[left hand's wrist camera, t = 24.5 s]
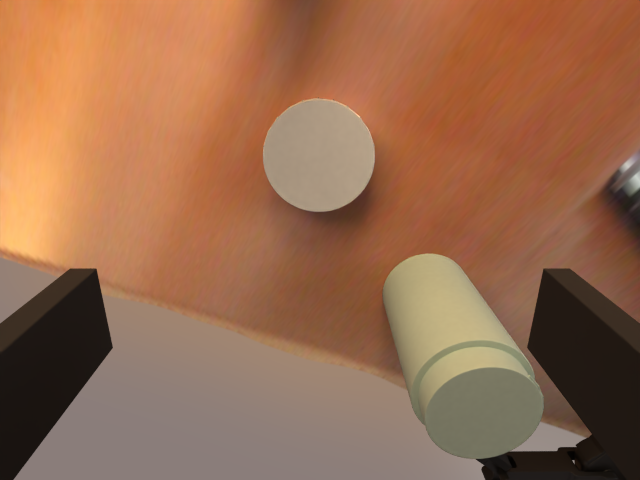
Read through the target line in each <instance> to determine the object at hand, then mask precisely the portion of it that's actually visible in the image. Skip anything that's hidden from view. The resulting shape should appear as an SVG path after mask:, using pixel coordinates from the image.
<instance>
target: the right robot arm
mask: <svg viewBox="0 0 640 480" xmlns="http://www.w3.org/2000/svg"><path fill="white" fill-rule="evenodd" d="M576 446H577V447H560V448H558V451H529V452H528V451H523V452H507V453H504V454H502V455H498V456H495V457H490V458H483V459H476V460H477V461H479V462H480V463H482V464H483V465H485V466H483V467H482V473H483V475H484V478H485V480H627V479H626V478H625V477H624V475H623V474H622V473H621V471H620V470H619V469H618V467H617V466H616V465H615V464H614V462H613V461H612V460H611V458H610V457H609V456H608V454H607V453H606V452H605V450H604V449H603V448H602V446H601V445H600V444H599V442H598V441H597V440H596V438H595V437H594V436H593V434H592V435H591V436H590V437H589V438H586V439H584V440H582V441H581V442H579V443H578V444H576ZM572 460H575V464H574V463H573V461H572Z"/></svg>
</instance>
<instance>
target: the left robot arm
mask: <svg viewBox="0 0 640 480" xmlns="http://www.w3.org/2000/svg"><path fill="white" fill-rule="evenodd" d="M112 348H113V347H112V342H111V337H110V332H109V327H108V323H107V318H106V313H105V308H104V303H103V298H102V293H101V289H100V284H99V279H98V274H97V269H69V270H68V271H67V272H65V273H64V274H63V275H62V276H60V277H59V278H58V279H57V280H55V281H54V282H53V283H51V284H50V285H49V286H48V287H46V288H45V289H44V290H42V291H41V292H40V293H39V294H37V295H36V296H35V297H34V298H32V299H31V300H30V301H29V302H27V303H26V304H25V305H23V306H22V307H21V308H20V309H18V310H17V311H16V312H14V313H13V314H12V315H11V316H9V317H8V318H7V319H6V320H4V321H3V322H2V323H0V480H13V479H14V478H15V477H16V475H17V474H18V473H19V471H20V470H21V469H22V467H23V466H24V465H25V463H26V462H27V461H28V460H29V458H30V457H31V456H32V454H33V453H34V452H35V450H36V449H37V448H38V446H39V445H40V444H41V442H42V441H43V440H44V438H45V437H46V436H47V434H48V433H49V432H50V430H51V429H52V428H53V426H54V425H55V424H56V422H57V421H58V420H59V418H60V417H61V416H62V414H63V413H64V412H65V410H66V409H67V408H68V406H69V405H70V404H71V402H72V401H73V400H74V398H75V397H76V396H77V395H78V393H79V392H80V391H81V389H82V388H83V387H84V385H85V384H86V383H87V381H88V380H89V379H90V377H91V376H92V375H93V373H94V372H95V371H96V369H97V368H98V367H99V365H100V364H101V363H102V361H103V360H104V359H105V357H106V356H107V355H108V353H109V352H110V351H111V349H112ZM527 348H528V349H529V351H530V352H531V353H532V355H533V356H534V357H535V359H536V360H537V361H538V363H539V364H540V365H541V367H542V368H543V369H544V371H545V372H546V373H547V375H548V376H549V377H550V379H551V380H552V381H553V383H554V384H555V385H556V387H557V388H558V389H559V391H560V392H561V393H562V395H563V396H564V397H565V398H566V400H567V401H568V402H569V404H570V405H571V406H572V408H573V409H574V410H575V412H576V413H577V414H578V416H579V417H580V418H581V420H582V421H583V422H584V424H585V425H586V426H587V428H588V429H589V430H590V432H591V433H592V434H593V436H594V437H595V438H596V440H597V441H598V442H599V444H600V445H601V446H602V448H603V449H604V450H605V452H606V453H607V454H608V456H609V457H610V458H611V460H612V461H613V462H614V464H615V465H616V466H617V467H618V469H619V470H620V471H621V473H622V474H623V475H624V477H625V478H626V479H627V480H640V323H638V322H637V321H636V320H634V319H633V318H632V317H631V316H629V315H628V314H627V313H626V312H624V311H623V310H622V309H620V308H619V307H618V306H617V305H615V304H614V303H613V302H612V301H610V300H609V299H608V298H606V297H605V296H604V295H603V294H601V293H600V292H599V291H598V290H596V289H595V288H594V287H592V286H591V285H590V284H589V283H587V282H586V281H585V280H584V279H582V278H581V277H580V276H578V275H577V274H576V273H575V272H573V271H572V270H571V269H543V274H542V279H541V284H540V289H539V293H538V298H537V303H536V308H535V313H534V318H533V322H532V327H531V332H530V337H529V342H528V347H527Z"/></svg>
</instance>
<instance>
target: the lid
mask: <svg viewBox="0 0 640 480" xmlns="http://www.w3.org/2000/svg"><path fill="white" fill-rule="evenodd" d="M369 131H370V130H369V129H368V128H367V127H366V125H365V124H364V122H363V121H362V120H361V117H360V116H359V115H357V114H356V113H355V112H354V111H352V110H351V109H350V108H349V107H348V106H345V105H344V104H342V103H339V102H337V101H335V100H334V99H333V100H330V99H323V98H319V97H318V98H314V99H308V100H302V101H301V102H299V103H296V104H294V105H293V106H291V107H290V106H289V107H288V109H287V110H285V111H284V112H283V113H282V114H281V115H280V116H278V117H277V118H276V121H275V122H274V123H273V125H272V126H271V128H270V129H269V130H268V134H267V137H266V139H265V143H264V146H263V147H264V148H263V163H264V169H265V172H266V175H267V178H268V180H269V182H270V184H271V185H272V187H273V189H274V190H275V191H276V192H277V193H278V195H279V196H280V197H282V198H283V199H284V200H285V201H287V202H288V203H289V204H291V205H293V206H295V207H297V208H300V209H303V210H307V211H313V212H325V211H331V210H335V209H338V208H341V207H343V206H345V205H347V204H348V203H350V202H351V201H353V200H354V199H355V198H356V197H357V196H358V195H359V194H360V193H361V192H362V191H363V190H364V188H365V187H366V185H367V184H368V182H369V180H370V177H371V175H372V172H373V168H374V162H375V151H374V144H373V140H372V137H371V134H370V132H369Z"/></svg>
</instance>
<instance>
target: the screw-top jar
mask: <svg viewBox="0 0 640 480" xmlns="http://www.w3.org/2000/svg"><path fill="white" fill-rule="evenodd" d="M383 302H384V306H385V310H386V313H387V317H388V321H389V324H390V328H391V332H392V335H393V339H394V342H395V346H396V350H397V353H398V357H399V361H400V364H401V368H402V371H403V375H404V379H405V382H406V386H407V389H408V393H409V397H410V400H411V404H412V408H413V410H414V412H415V414H416V416H417V417H418V419H419V420H420V421H421V422H422V423H423V424H424V425H425V426H426V430H427V432H428V434H429V436H430V438H431V439H432V441H433V442H434V443H435V444H436V445H437V446H438V447H440V448H441V449H442V450H444V451H446V452H448V453H450V454H452V455H455V456H458V457H463V458H470V459H483V458H490V457H495V456H498V455H502V454H504V453H507V452H509V451H511V450H513V449H515V448H516V447H518V446H519V445H521V444H522V443H523V442H525V441H526V440H527V439H528V438H529V437H530V436H531V435H532V434H533V432H534V431H535V430H536V428H537V426H538V425H539V422H540V420H541V417H542V413H543V410H544V406H543V398H544V397H543V395H542V392H541V390H540V387H539V385H538V384H537V383H536V382H535V376H534V372H533V369H532V367H531V365H530V363H529V361H528V360H527V359H526V357H525V356H524V354H523V353H522V352H521V350H520V349H519V348H518V346H517V345H516V343H515V342H514V341H513V339H512V338H511V336H510V335H509V334H508V332H507V331H506V330H505V328H504V327H503V325H502V324H501V323H500V321H499V320H498V318H497V317H496V316H495V314H494V313H493V312H492V310H491V309H490V307H489V306H488V305H487V303H486V302H485V300H484V299H483V298H482V296H481V295H480V294H479V292H478V291H477V289H476V288H475V287H474V285H473V284H472V282H471V281H470V280H469V278H468V277H467V276H466V274H465V273H464V271H463V270H462V269H461V267H460V266H459V265H458V264H457V263H455V262H454V261H453V260H451V259H449V258H447V257H445V256H442V255H438V254H420V255H416V256H413V257H410V258H408V259H406V260H404V261H402V262H401V263H400V264H398V265H397V266H396V267H395V268H394V269H393V270H392V271H391V272H390V274H389V275H388V277H387V279H386V281H385V284H384V287H383Z"/></svg>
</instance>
